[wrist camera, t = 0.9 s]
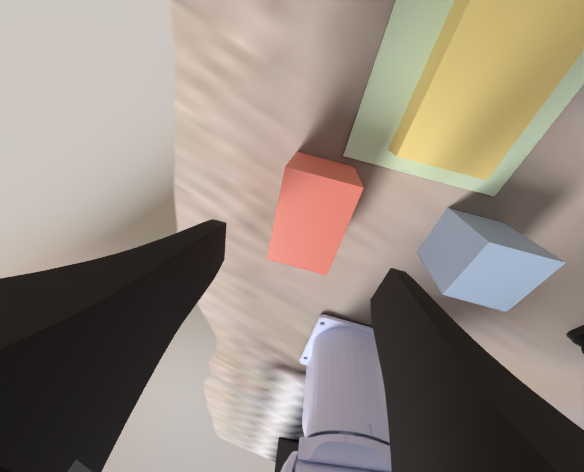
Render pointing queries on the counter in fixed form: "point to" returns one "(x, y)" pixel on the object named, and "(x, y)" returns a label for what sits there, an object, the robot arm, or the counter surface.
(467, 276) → the blue brick
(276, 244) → the red brick
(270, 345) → the counter surface
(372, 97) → the baseplate
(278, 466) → the phone stand
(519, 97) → the mustard brick
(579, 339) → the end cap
